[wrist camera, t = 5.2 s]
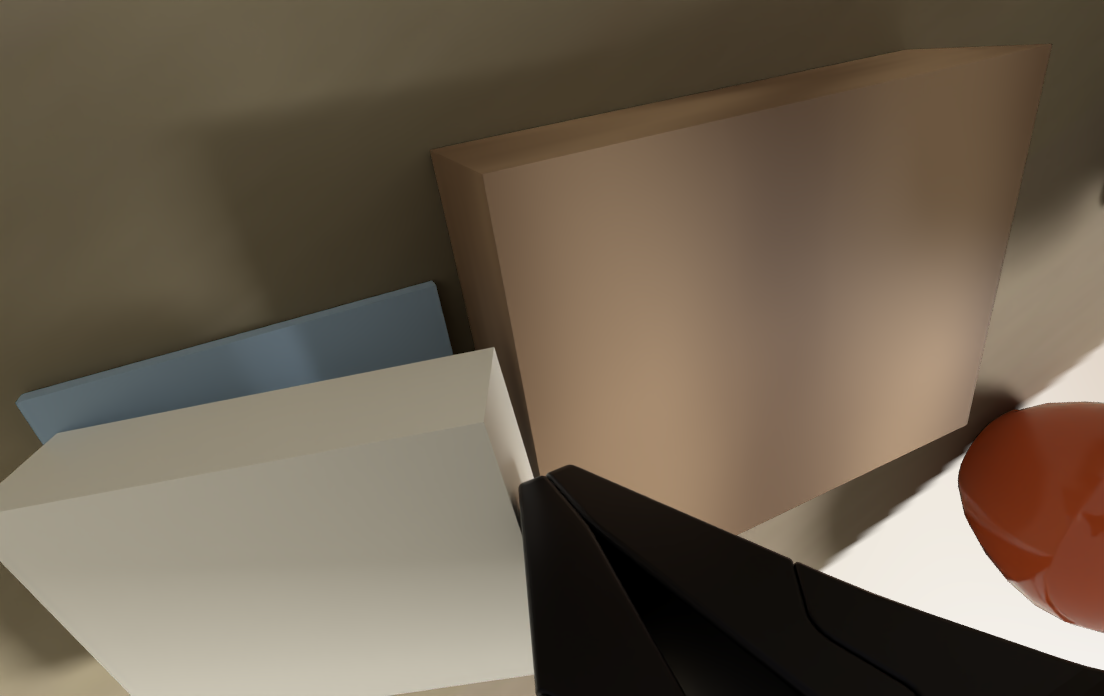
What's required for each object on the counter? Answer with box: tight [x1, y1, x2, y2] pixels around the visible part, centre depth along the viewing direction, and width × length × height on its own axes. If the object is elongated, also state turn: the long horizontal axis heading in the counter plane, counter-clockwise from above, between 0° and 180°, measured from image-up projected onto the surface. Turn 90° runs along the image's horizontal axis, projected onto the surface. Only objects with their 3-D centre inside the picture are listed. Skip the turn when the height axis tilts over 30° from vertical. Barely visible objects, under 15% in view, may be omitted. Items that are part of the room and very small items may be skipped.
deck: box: [430, 44, 1052, 535], centre depth 12 cm, size 11×8×3 cm
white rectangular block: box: [0, 347, 534, 696], centre depth 9 cm, size 7×5×2 cm
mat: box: [15, 281, 453, 445], centre depth 12 cm, size 6×6×1 cm
